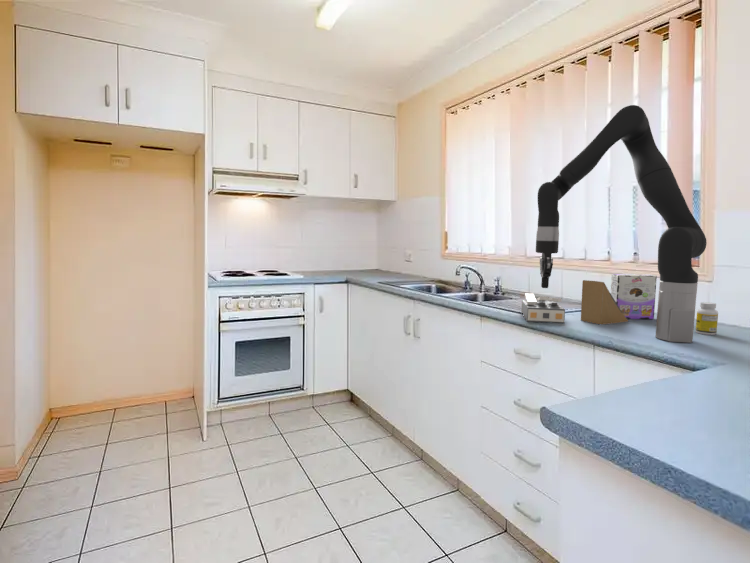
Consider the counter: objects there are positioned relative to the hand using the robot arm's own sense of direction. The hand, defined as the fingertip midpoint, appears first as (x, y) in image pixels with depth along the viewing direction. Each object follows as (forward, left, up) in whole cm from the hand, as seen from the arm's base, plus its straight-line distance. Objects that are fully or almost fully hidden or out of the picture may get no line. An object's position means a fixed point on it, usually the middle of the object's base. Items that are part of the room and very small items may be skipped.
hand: (544, 287), depth 160 cm
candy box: (+13, -34, -12) cm, 38 cm away
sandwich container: (+4, -22, -12) cm, 25 cm away
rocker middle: (+3, 0, -5) cm, 6 cm away
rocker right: (+3, -4, -5) cm, 8 cm away
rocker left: (+3, +4, -5) cm, 8 cm away
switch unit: (+3, 0, -12) cm, 12 cm away
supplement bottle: (-11, -48, -12) cm, 50 cm away
